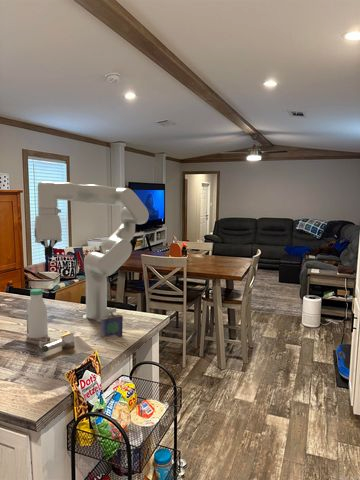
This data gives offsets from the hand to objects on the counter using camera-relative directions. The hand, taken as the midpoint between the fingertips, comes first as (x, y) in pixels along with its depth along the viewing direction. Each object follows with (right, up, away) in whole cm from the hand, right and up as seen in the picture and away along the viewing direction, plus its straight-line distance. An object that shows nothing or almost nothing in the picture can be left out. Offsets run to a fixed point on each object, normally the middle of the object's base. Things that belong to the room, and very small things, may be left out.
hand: (48, 256), depth 150 cm
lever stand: (+12, -35, -16) cm, 40 cm away
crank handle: (+10, -33, -19) cm, 40 cm away
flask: (+27, -34, -2) cm, 43 cm away
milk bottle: (-3, -33, -5) cm, 34 cm away
